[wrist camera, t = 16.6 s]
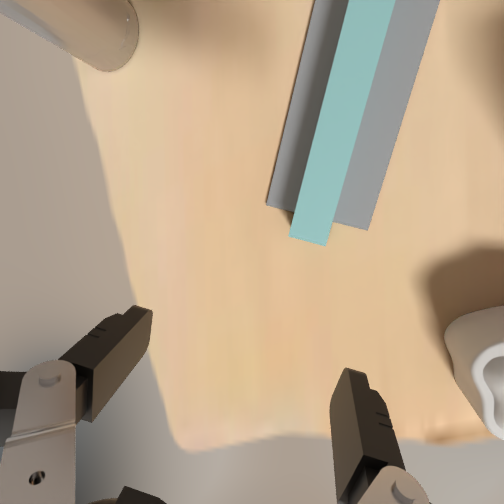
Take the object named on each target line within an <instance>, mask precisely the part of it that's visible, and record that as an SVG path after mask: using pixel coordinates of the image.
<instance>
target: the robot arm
mask: <svg viewBox="0 0 504 504" xmlns="http://www.w3.org/2000/svg"><path fill="white" fill-rule="evenodd" d="M0 13H1V14H2V15H4V16H6V17H8V18H9V19H11V20H13V21H14V22H16V23H18V24H20V25H22V26H23V27H25V28H27V29H28V30H30V31H32V32H34V33H35V34H37V35H39V36H40V37H42V38H44V39H46V40H47V41H49V42H51V43H53V44H54V45H56V46H58V47H59V48H61V49H63V50H65V51H66V52H68V53H70V54H71V55H73V56H75V57H77V58H78V59H80V60H82V61H84V62H85V63H87V64H89V65H90V66H92V67H94V68H96V69H97V70H101V71H108V72H110V71H114V70H117V69H119V68H120V67H122V66H123V65H124V64H125V63H127V62H128V60H129V59H130V58H131V56H132V54H133V52H134V50H135V48H136V44H137V41H138V33H139V30H138V20H137V16H136V14H135V11H134V9H133V7H132V6H131V4H130V3H129V2H128V1H127V0H0ZM152 316H153V312H152V310H149V309H146V308H143V307H139V306H136V305H133V306H132V307H131V308H130V309H129V310H127V311H126V312H125V313H124V314H123V315H121V314H118V313H117V314H115V315H112V316H110V317H107V318H105V319H104V320H103V321H101V322H100V323H99V324H98V325H97V326H96V327H95V329H94V328H93V329H92V330H91V331H90V332H89V333H88V335H85V336H84V337H83V338H82V339H81V340H80V341H79V342H77V343H76V344H75V345H74V346H73V347H72V348H71V349H69V350H68V351H67V352H66V353H65V354H64V355H63V356H61V357H60V358H59V359H58V360H51V361H46V362H43V363H40V364H38V365H36V366H34V367H33V368H31V369H30V370H29V371H28V372H6V371H0V447H1V446H2V447H3V446H4V450H3V454H2V459H1V464H0V504H75V426H76V424H77V423H78V422H79V421H80V420H81V419H82V420H85V421H88V422H91V423H92V422H93V421H94V419H95V418H96V417H97V415H98V414H99V413H100V411H101V410H102V409H103V407H104V406H105V405H106V404H107V402H108V401H109V400H110V398H111V397H112V396H113V394H114V393H115V392H116V391H117V389H118V388H119V386H120V385H121V384H122V383H123V381H124V380H125V379H126V377H127V376H128V375H129V373H130V372H131V371H132V370H133V368H134V367H135V366H136V364H137V363H138V362H139V361H140V359H141V358H142V357H143V355H144V354H145V352H146V350H147V347H148V345H149V341H150V333H151V324H152ZM330 424H331V436H332V447H333V459H334V471H335V484H336V495H337V504H431V503H430V502H429V499H428V497H427V495H426V493H425V491H424V489H423V488H422V486H421V485H420V484H419V482H418V481H417V480H416V479H415V478H414V477H413V476H412V475H410V474H409V473H408V472H406V470H405V466H404V463H403V460H402V456H401V453H400V449H399V446H398V443H397V439H396V436H395V433H394V430H393V429H392V428H393V426H392V423H391V419H389V413H388V409H387V406H386V403H385V402H384V400H383V399H382V397H381V396H380V395H379V393H378V392H377V391H375V390H372V389H370V387H369V383H368V379H367V376H366V374H365V373H363V372H359V371H356V370H353V369H349V368H345V369H344V370H343V372H342V374H341V377H340V379H339V381H338V384H337V386H336V388H335V390H334V393H333V395H332V398H331V402H330ZM88 504H166V503H165V502H164V501H162V500H161V499H160V498H158V497H155V496H153V495H150V494H147V493H144V492H141V491H138V490H135V489H132V488H130V487H127V486H124V488H123V490H122V492H121V494H120V495H119V497H118V498H111V499H102V500H99V501H94V502H91V503H88Z"/></svg>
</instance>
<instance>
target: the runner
mask: <svg viewBox="0 0 504 504" xmlns="http://www.w3.org/2000/svg"><path fill="white" fill-rule="evenodd" d="M439 2H440V0H396V1H395V4H394V8H393V11H392V15H391V18H390V22H389V25H388V29H387V32H386V36H385V39H384V43H383V46H382V50H381V53H380V57H379V60H378V64H377V67H376V71H375V74H374V78H373V81H372V85H371V88H370V92H369V95H368V99H367V102H366V106H365V109H364V113H363V117H362V120H361V124H360V127H359V131H358V134H357V138H356V141H355V145H354V148H353V152H352V155H351V159H350V162H349V166H348V169H347V173H346V176H345V180H344V183H343V187H342V190H341V194H340V197H339V201H338V204H337V208H336V211H335V215H334V218H333V222H336V223H340V224H344V225H348V226H352V227H356V228H360V229H364V230H368V228H369V225H370V222H371V218H372V215H373V212H374V209H375V206H376V203H377V199H378V196H379V193H380V190H381V187H382V183H383V180H384V177H385V174H386V171H387V167H388V164H389V161H390V158H391V155H392V152H393V148H394V145H395V142H396V139H397V136H398V132H399V129H400V126H401V123H402V120H403V116H404V113H405V110H406V107H407V104H408V100H409V97H410V94H411V91H412V88H413V85H414V81H415V78H416V75H417V72H418V69H419V65H420V62H421V59H422V56H423V53H424V49H425V46H426V43H427V40H428V37H429V34H430V30H431V27H432V24H433V21H434V18H435V14H436V11H437V8H438V5H439ZM348 3H349V0H315V4H314V8H313V12H312V17H311V21H310V25H309V29H308V33H307V37H306V42H305V46H304V50H303V54H302V58H301V62H300V67H299V71H298V75H297V79H296V83H295V87H294V92H293V96H292V100H291V104H290V108H289V112H288V117H287V121H286V125H285V129H284V133H283V137H282V142H281V146H280V150H279V154H278V158H277V162H276V167H275V171H274V175H273V179H272V183H271V187H270V192H269V196H268V200H267V204H266V205H267V206H271V207H275V208H279V209H283V210H287V211H291V212H295V209H296V205H297V201H298V197H299V193H300V189H301V185H302V181H303V178H304V174H305V170H306V166H307V162H308V158H309V154H310V150H311V146H312V143H313V139H314V135H315V131H316V127H317V123H318V119H319V115H320V111H321V108H322V104H323V100H324V96H325V92H326V88H327V84H328V80H329V76H330V73H331V69H332V65H333V61H334V57H335V53H336V49H337V45H338V41H339V38H340V34H341V30H342V26H343V22H344V18H345V14H346V10H347V6H348Z"/></svg>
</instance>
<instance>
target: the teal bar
mask: <svg viewBox="0 0 504 504" xmlns="http://www.w3.org/2000/svg"><path fill="white" fill-rule="evenodd" d="M395 1H396V0H349V3H348V6H347V10H346V14H345V18H344V22H343V26H342V30H341V34H340V38H339V41H338V45H337V49H336V53H335V57H334V61H333V65H332V69H331V73H330V76H329V80H328V84H327V88H326V92H325V96H324V100H323V104H322V108H321V111H320V115H319V119H318V123H317V127H316V131H315V135H314V139H313V143H312V146H311V150H310V154H309V158H308V162H307V166H306V170H305V174H304V178H303V181H302V185H301V189H300V193H299V197H298V201H297V205H296V209H295V213H294V216H293V220H292V224H291V228H290V232H289V237H293V238H296V239H300V240H304V241H308V242H311V243H315V244H319V245H323V246H326V243H327V240H328V236H329V233H330V229H331V225H332V222H333V218H334V215H335V211H336V208H337V204H338V201H339V197H340V194H341V190H342V187H343V183H344V180H345V176H346V173H347V169H348V166H349V162H350V159H351V155H352V152H353V148H354V145H355V141H356V138H357V134H358V131H359V127H360V124H361V120H362V117H363V113H364V109H365V106H366V102H367V99H368V95H369V92H370V88H371V85H372V81H373V78H374V74H375V71H376V67H377V64H378V60H379V57H380V53H381V50H382V46H383V43H384V39H385V36H386V32H387V29H388V25H389V22H390V18H391V15H392V11H393V8H394V4H395Z"/></svg>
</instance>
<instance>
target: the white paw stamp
mask: <svg viewBox="0 0 504 504" xmlns="http://www.w3.org/2000/svg"><path fill="white" fill-rule="evenodd" d="M444 341H445V344H446V347H447V349H448V351H449V353H450V355H451V358H452V361H453V369H454V378H455V381H456V383H457V385H458V387H459V388H460V390H461V391H462V393H463V394H464V395H465V397H466V398H467V400H468V401H469V403H470V404H471V406H472V407H473V409H474V410H475V412H476V413H477V415H478V416H479V418H480V419H481V420H482V422H483V423H484V425H485V426H486V428H487V429H488V430H489V431H490V432H491V433H492V434H494V435H495V436H496V437H498V438H500V439H502V440H504V305H503V306H497V307H491V308H487V309H483V310H479V311H476V312H472V313H468V314H465V315H463V316H460V317H458V318H457V319H455V320H454V321H453V322H452V323H450V325H449V326H448V327H447V329H446V331H445V333H444Z"/></svg>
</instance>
